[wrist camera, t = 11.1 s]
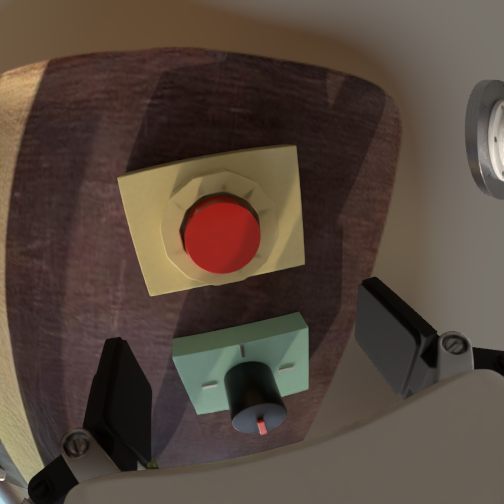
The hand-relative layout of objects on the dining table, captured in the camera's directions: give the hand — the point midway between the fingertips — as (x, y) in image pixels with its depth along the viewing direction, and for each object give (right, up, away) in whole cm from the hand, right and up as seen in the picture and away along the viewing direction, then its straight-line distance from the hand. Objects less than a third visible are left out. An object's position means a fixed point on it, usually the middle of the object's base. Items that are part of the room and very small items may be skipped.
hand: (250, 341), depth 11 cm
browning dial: (0, -8, +15) cm, 17 cm away
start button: (-2, +5, +8) cm, 9 cm away
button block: (-3, +6, +11) cm, 13 cm away
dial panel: (-1, -7, +17) cm, 19 cm away
